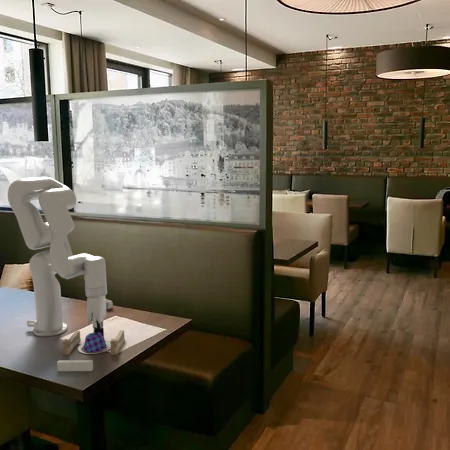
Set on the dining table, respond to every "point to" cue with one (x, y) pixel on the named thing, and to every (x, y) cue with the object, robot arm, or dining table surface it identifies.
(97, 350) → the pudding
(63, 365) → the bar
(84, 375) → the dining table surface
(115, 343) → the pair of beige bars
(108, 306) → the white patterned lump
